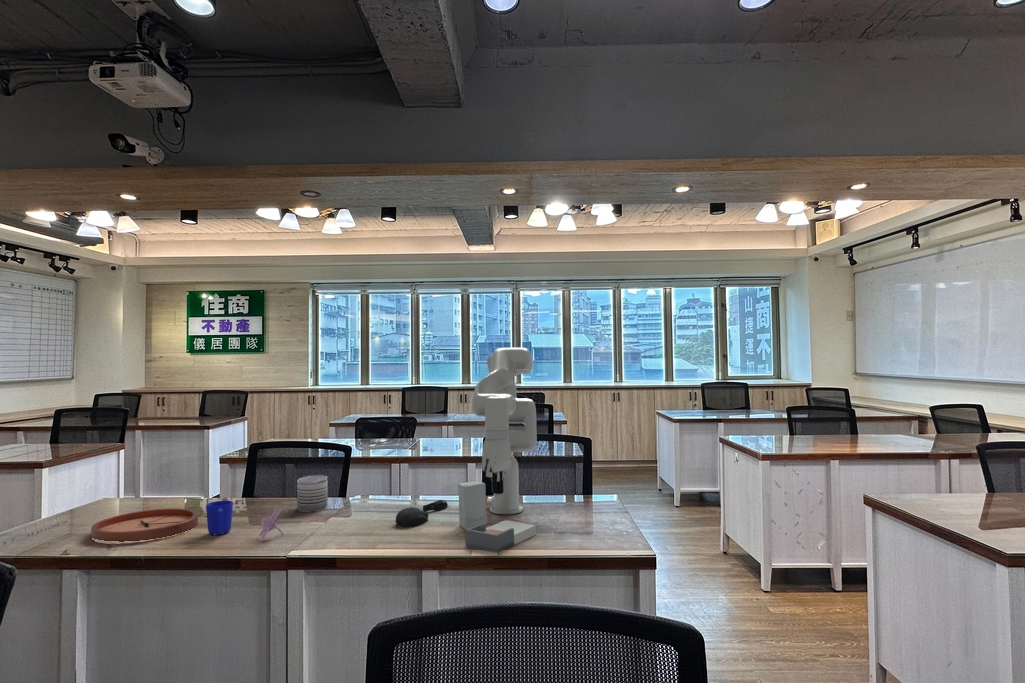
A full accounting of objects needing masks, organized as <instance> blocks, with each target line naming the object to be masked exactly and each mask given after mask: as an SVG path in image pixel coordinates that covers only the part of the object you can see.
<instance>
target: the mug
mask: <svg viewBox="0 0 1025 683" xmlns="http://www.w3.org/2000/svg"><path fill="white" fill-rule="evenodd" d="M233 507H234V502H233V501H232V500H217V501H216V500H215V501H212V502H209V503H207V504H206V505H205V510H206V521H207V531H208V534H209V533H210V534H209V535H211V534H222V533H226V532H228V533H230V531H231V529H232V523H233V522H232V519H233V511H234V510H233V509H234V508H233ZM226 534H227V533H226ZM222 535H223V534H222Z"/></svg>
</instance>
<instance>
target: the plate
mask: <svg viewBox="0 0 1025 683" xmlns="http://www.w3.org/2000/svg"><path fill="white" fill-rule="evenodd" d="M510 528H514V545H516V544H519V543H521V542H523V541H525V540H527V539H529V538H532V537H534V536H536V535H537V529H536V528H537V525H536V524H530V523H525V522H519V521H514V520H513V521H512V520H507V519H505V520H503V521H500V522H498V523H495V524H493V525H490V526H487V527H486V531H487V530H489V529H493V530H499V531H505V530H508V529H510ZM514 545H513V546H514Z"/></svg>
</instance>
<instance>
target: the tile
mask: <svg viewBox="0 0 1025 683" xmlns="http://www.w3.org/2000/svg"><path fill="white" fill-rule="evenodd" d="M484 532H486V533H491V534H498V533H501V532H503V531H499V530H493V529H489V530H487V531H484Z"/></svg>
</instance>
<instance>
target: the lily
mask: <svg viewBox="0 0 1025 683" xmlns="http://www.w3.org/2000/svg"><path fill="white" fill-rule="evenodd" d="M282 510H283V507H281V508H279V509H278V506H277V507H275V509H274V510H273V512H272V514H271V515H267V516H265V517H263V518H262V519H261V527H262V528H263V529H262V530H261V531H260V532H259V534H258V536H259V538H260V541H262V542H264V539H265V538H266V536H267V534H268V532H270V531H273V530H276V529H277V530H278V531H279V532H280V533H281V535H282V536H283V535H284V533H283V532H282V531H281V529H280V528H279V527H278V526H277V517H278V516H279V515H280V514H281V512H282Z"/></svg>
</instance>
